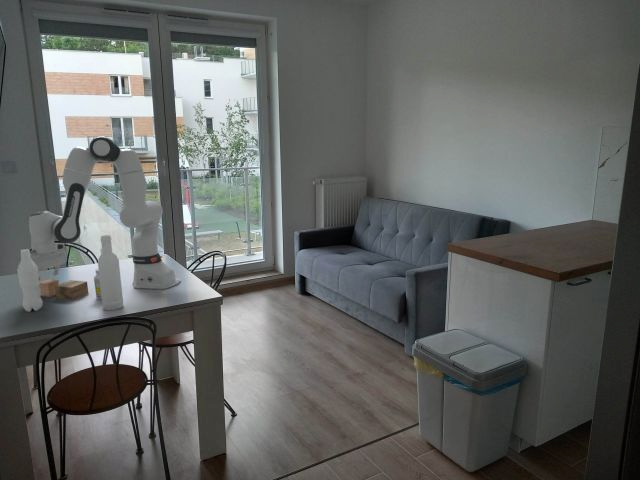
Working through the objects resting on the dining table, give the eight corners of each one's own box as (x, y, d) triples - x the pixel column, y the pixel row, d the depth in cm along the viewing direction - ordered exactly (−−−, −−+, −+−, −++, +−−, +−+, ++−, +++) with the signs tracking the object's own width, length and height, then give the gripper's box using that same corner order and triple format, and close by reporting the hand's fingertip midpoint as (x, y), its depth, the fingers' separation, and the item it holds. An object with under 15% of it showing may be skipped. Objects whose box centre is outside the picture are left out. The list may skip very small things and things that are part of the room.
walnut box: (88, 294, 215) (87, 281, 213) (73, 300, 206) (71, 287, 205) (72, 292, 217) (70, 280, 216) (56, 299, 209) (54, 286, 207)
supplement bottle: (114, 294, 213) (111, 266, 210) (110, 299, 207) (107, 270, 204) (98, 295, 212) (95, 267, 209) (94, 300, 206) (91, 271, 203)
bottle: (127, 304, 200) (120, 234, 193) (115, 311, 192) (107, 238, 186) (111, 303, 201) (103, 233, 195) (98, 309, 194) (90, 237, 188)
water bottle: (21, 313, 191) (12, 253, 185) (24, 308, 197) (15, 249, 192) (42, 311, 193) (33, 251, 188) (44, 305, 200) (36, 247, 195)
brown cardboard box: (60, 293, 216) (58, 280, 215) (49, 297, 211) (47, 283, 210) (50, 292, 218) (49, 279, 217) (40, 295, 213) (38, 282, 212)
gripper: (27, 253, 200) (30, 285, 203) (67, 243, 219) (70, 272, 222) (16, 252, 202) (20, 283, 205) (57, 242, 221) (60, 271, 224)
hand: (46, 277), depth 213 cm, fingers open, 8 cm apart
